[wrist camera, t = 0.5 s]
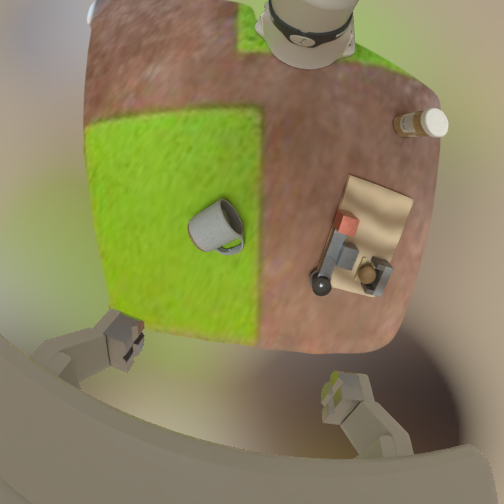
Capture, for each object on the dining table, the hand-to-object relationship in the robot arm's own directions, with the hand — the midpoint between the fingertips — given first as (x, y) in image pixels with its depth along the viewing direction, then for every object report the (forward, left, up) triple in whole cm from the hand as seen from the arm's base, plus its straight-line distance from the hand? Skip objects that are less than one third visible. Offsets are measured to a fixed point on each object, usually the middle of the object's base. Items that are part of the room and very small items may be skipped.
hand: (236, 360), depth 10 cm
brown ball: (+10, +22, -40) cm, 46 cm away
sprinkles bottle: (-20, +20, -42) cm, 51 cm away
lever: (+8, +14, -40) cm, 43 cm away
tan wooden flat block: (+4, +19, -42) cm, 46 cm away
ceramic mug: (+9, -7, -42) cm, 44 cm away
